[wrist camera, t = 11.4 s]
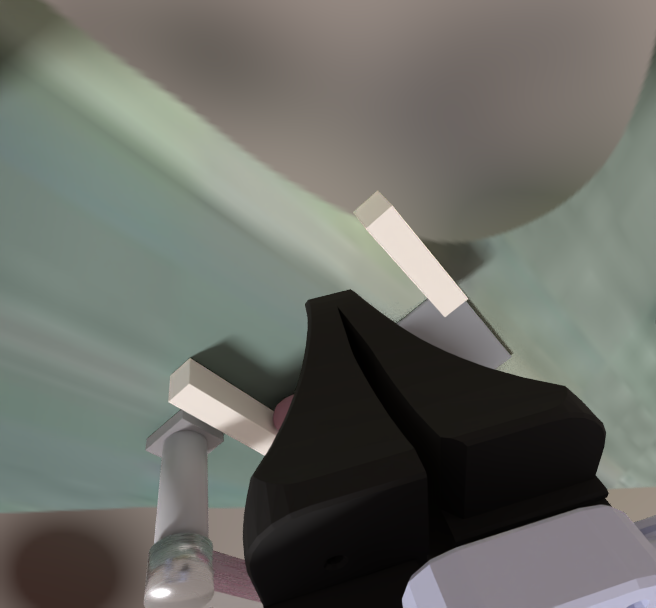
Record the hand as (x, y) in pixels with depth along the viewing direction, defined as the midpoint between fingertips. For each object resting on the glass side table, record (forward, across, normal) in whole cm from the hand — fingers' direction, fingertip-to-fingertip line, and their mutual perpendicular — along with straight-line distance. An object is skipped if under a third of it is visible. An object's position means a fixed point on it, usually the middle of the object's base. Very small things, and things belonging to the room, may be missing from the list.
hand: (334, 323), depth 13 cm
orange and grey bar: (+2, +5, +16) cm, 17 cm away
